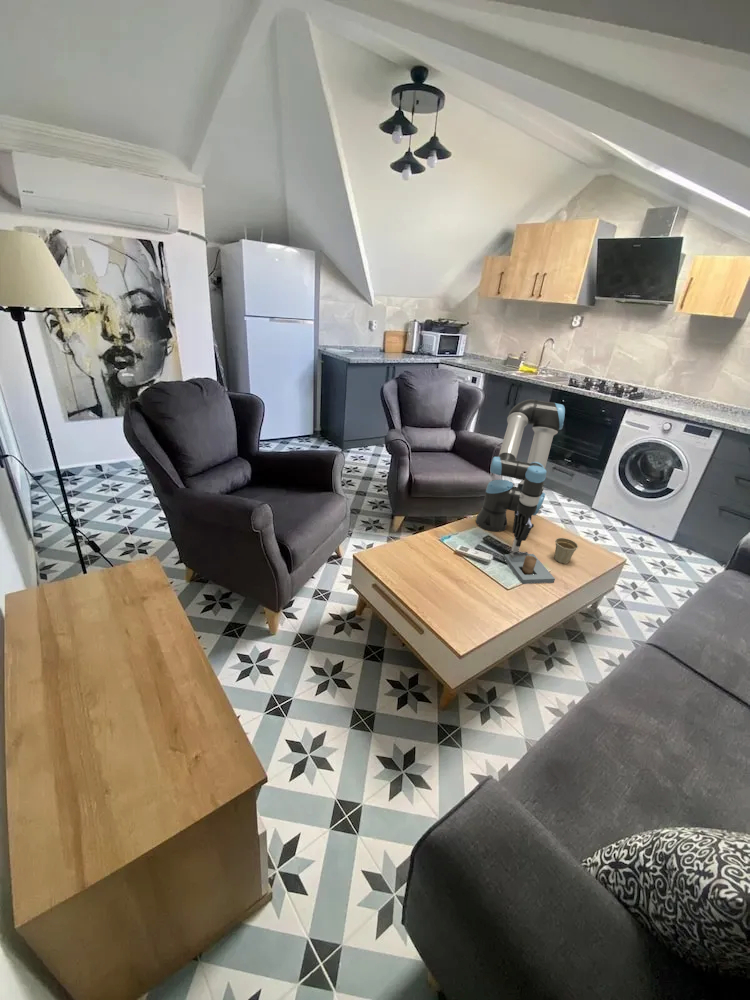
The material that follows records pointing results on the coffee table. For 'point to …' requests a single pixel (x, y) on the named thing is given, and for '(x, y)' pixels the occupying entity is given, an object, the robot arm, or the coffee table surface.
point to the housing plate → (539, 571)
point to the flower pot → (564, 549)
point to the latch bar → (518, 556)
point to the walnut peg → (529, 565)
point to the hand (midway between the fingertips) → (514, 550)
